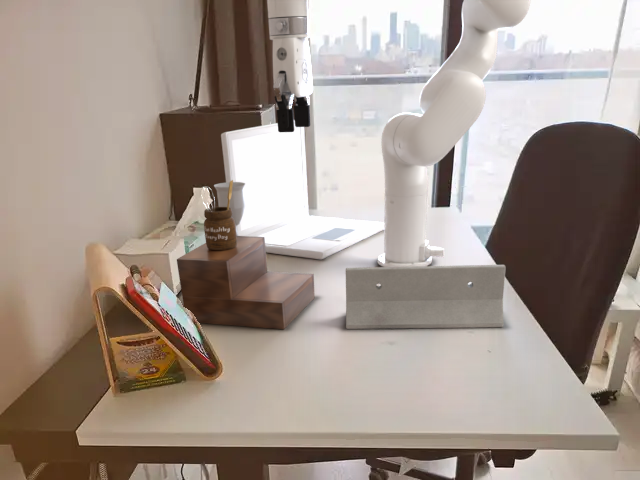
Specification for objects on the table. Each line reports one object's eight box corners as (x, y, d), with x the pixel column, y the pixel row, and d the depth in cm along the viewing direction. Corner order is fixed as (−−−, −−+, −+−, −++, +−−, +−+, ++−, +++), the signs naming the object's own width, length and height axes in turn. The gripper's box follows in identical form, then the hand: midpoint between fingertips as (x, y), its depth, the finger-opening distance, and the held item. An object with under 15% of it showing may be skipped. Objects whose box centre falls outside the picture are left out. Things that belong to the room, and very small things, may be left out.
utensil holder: (212, 243, 127) (204, 178, 121) (243, 243, 126) (236, 177, 120) (202, 251, 122) (193, 184, 116) (234, 251, 121) (226, 183, 115)
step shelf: (314, 297, 133) (311, 238, 127) (284, 329, 118) (279, 264, 112) (225, 292, 138) (219, 235, 132) (185, 321, 124) (176, 259, 118)
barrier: (346, 329, 117) (344, 274, 112) (347, 315, 123) (346, 262, 118) (503, 327, 114) (508, 271, 109) (496, 313, 121) (501, 259, 116)
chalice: (257, 259, 160) (250, 182, 151) (245, 266, 155) (237, 187, 146) (230, 257, 162) (222, 181, 153) (218, 265, 157) (208, 187, 148)
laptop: (323, 260, 157) (318, 133, 143) (232, 248, 170) (219, 132, 156) (387, 229, 181) (388, 118, 168) (304, 221, 195) (298, 118, 181)
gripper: (292, 27, 114) (298, 134, 122) (322, 29, 128) (325, 124, 136) (252, 30, 116) (261, 134, 124) (286, 31, 130) (291, 125, 139)
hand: (294, 129), depth 130 cm, fingers open, 9 cm apart
